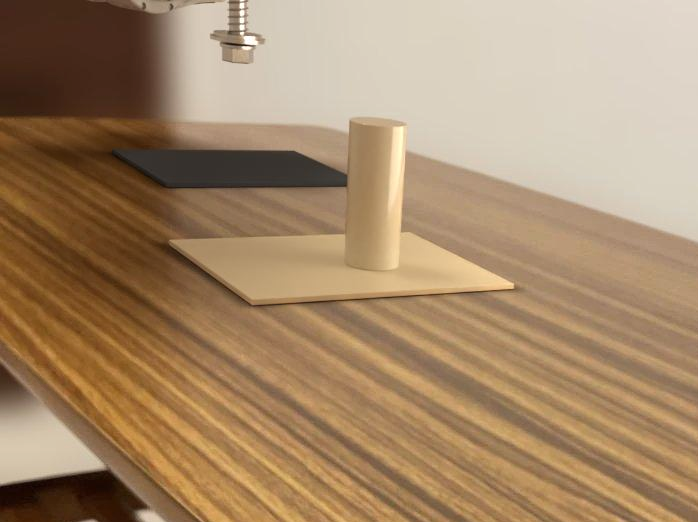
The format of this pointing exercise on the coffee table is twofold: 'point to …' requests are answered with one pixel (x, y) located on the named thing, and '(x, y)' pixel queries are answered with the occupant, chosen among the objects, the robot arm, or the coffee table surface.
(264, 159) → the slate mat
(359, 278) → the cream mat
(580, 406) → the coffee table surface
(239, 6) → the screw
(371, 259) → the cream peg
